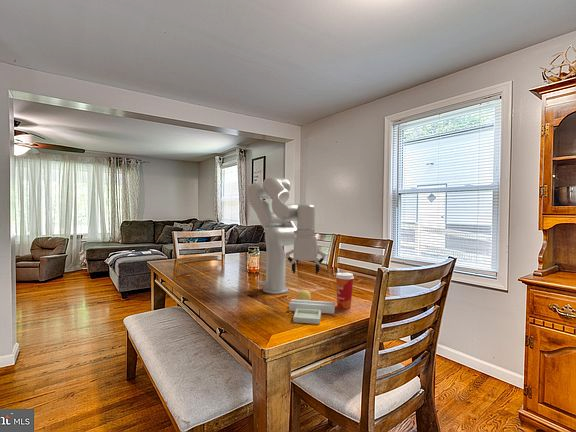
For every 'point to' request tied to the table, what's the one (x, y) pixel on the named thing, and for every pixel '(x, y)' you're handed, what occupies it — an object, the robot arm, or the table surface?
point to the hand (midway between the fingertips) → (305, 273)
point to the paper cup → (344, 290)
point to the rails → (312, 305)
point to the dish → (307, 316)
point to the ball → (304, 295)
